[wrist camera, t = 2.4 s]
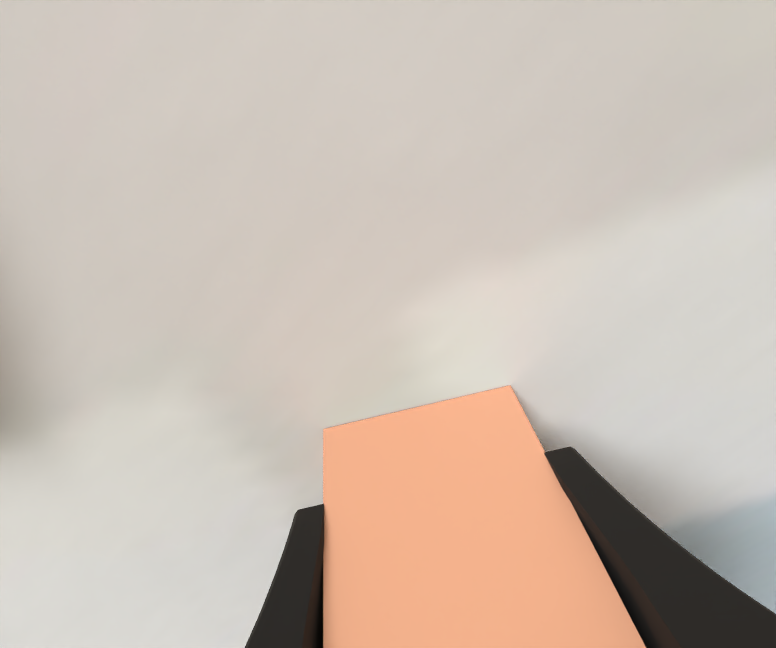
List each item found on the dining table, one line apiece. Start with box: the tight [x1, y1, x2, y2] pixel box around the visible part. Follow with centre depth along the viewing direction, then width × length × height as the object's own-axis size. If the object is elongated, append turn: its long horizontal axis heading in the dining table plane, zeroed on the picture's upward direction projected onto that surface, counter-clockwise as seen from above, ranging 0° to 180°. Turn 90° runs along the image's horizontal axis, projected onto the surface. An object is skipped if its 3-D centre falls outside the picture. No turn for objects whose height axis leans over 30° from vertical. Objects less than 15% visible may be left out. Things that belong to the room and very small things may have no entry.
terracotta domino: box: [323, 385, 646, 648], centre depth 10 cm, size 5×2×9 cm, turn 102°
